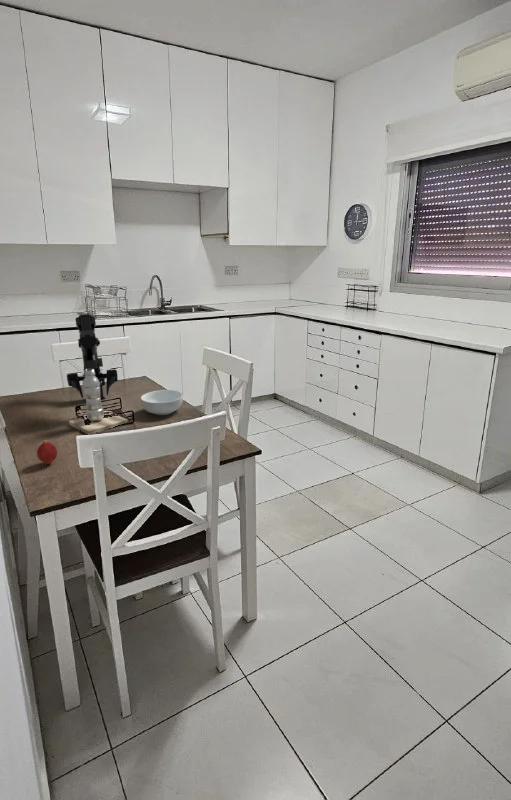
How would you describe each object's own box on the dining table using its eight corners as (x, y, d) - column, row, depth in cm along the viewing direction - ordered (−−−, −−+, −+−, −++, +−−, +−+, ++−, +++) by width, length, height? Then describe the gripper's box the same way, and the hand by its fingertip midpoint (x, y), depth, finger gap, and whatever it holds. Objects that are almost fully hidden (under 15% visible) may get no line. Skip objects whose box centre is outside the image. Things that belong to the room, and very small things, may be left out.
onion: (42, 460, 149) (38, 437, 147) (61, 459, 150) (57, 436, 147) (36, 468, 144) (31, 444, 141) (55, 467, 144) (51, 443, 142)
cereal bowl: (134, 412, 192) (132, 396, 189) (167, 403, 203) (165, 387, 201) (158, 422, 181) (157, 404, 178) (192, 411, 192) (191, 394, 190)
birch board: (107, 414, 190) (106, 410, 190) (128, 423, 180) (127, 419, 179) (69, 424, 179) (68, 421, 179) (89, 435, 169) (88, 431, 168)
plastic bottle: (103, 416, 184) (97, 366, 177) (106, 421, 178) (99, 370, 172) (86, 418, 181) (79, 368, 175) (88, 424, 175) (81, 372, 169)
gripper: (63, 353, 177) (67, 389, 171) (114, 349, 183) (119, 383, 177) (67, 368, 187) (70, 403, 181) (115, 364, 193) (120, 397, 186)
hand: (95, 396), depth 181 cm, fingers open, 9 cm apart
